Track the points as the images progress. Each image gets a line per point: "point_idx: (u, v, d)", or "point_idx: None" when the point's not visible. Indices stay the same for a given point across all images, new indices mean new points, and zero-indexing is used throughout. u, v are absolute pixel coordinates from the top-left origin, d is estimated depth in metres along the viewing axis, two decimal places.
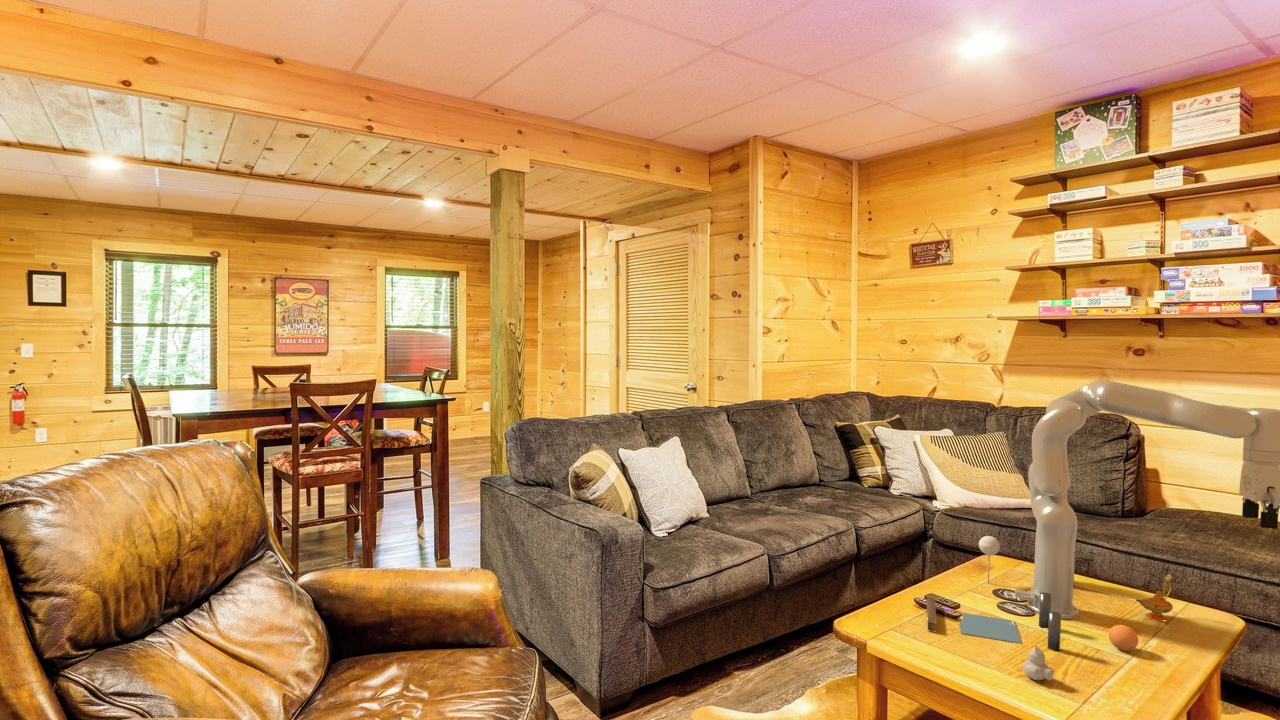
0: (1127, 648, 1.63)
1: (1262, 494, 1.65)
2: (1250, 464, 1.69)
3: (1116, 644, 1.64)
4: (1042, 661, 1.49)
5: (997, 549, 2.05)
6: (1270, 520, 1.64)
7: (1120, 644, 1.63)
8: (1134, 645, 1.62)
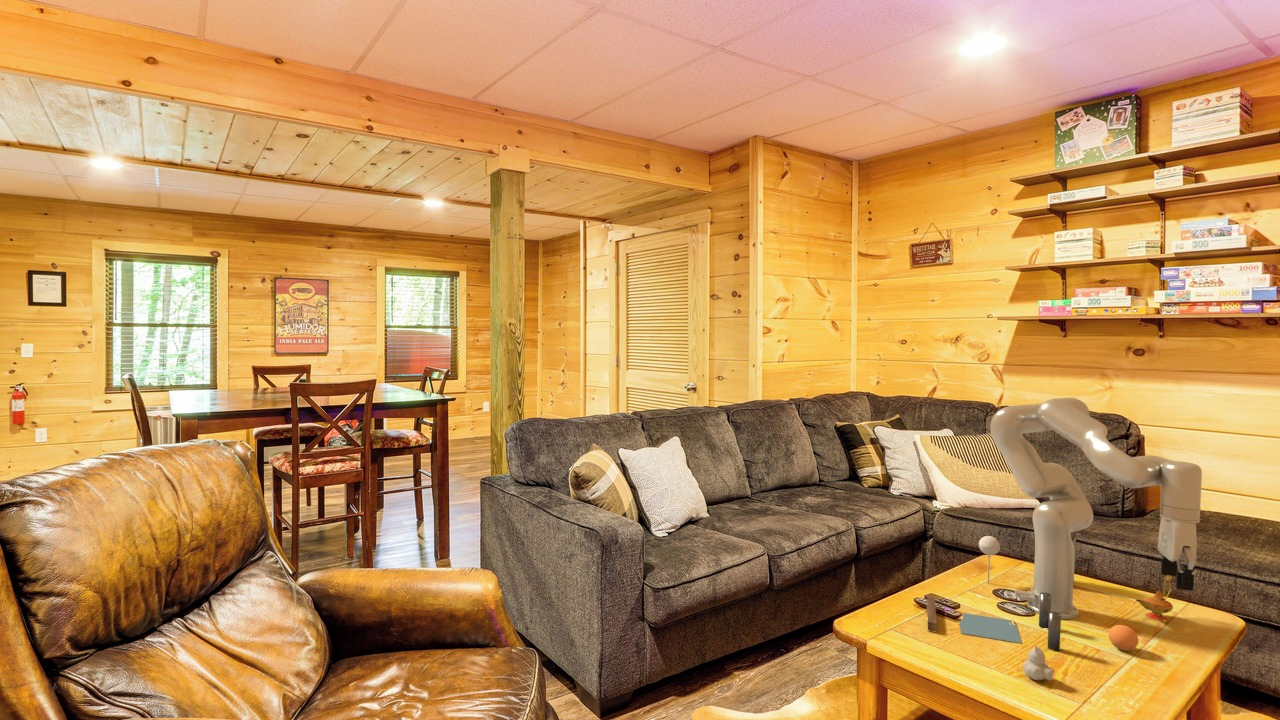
0: (1127, 648, 1.63)
1: (1178, 554, 1.56)
2: (1167, 521, 1.60)
3: (1116, 644, 1.64)
4: (1042, 661, 1.49)
5: (997, 549, 2.05)
6: (1186, 581, 1.56)
7: (1120, 644, 1.63)
8: (1134, 645, 1.62)
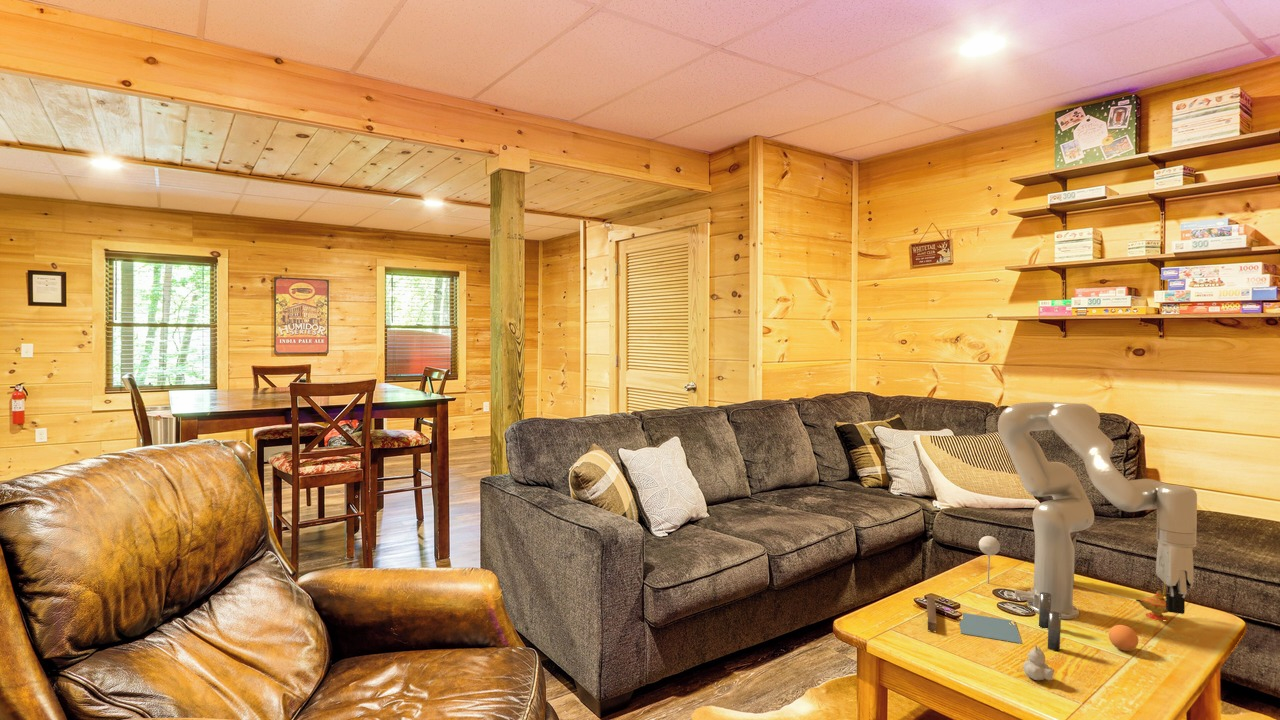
0: (1127, 648, 1.63)
1: (1175, 578, 1.56)
2: (1164, 545, 1.60)
3: (1116, 644, 1.64)
4: (1042, 661, 1.49)
5: (997, 549, 2.05)
6: (1176, 605, 1.59)
7: (1120, 644, 1.63)
8: (1134, 645, 1.62)
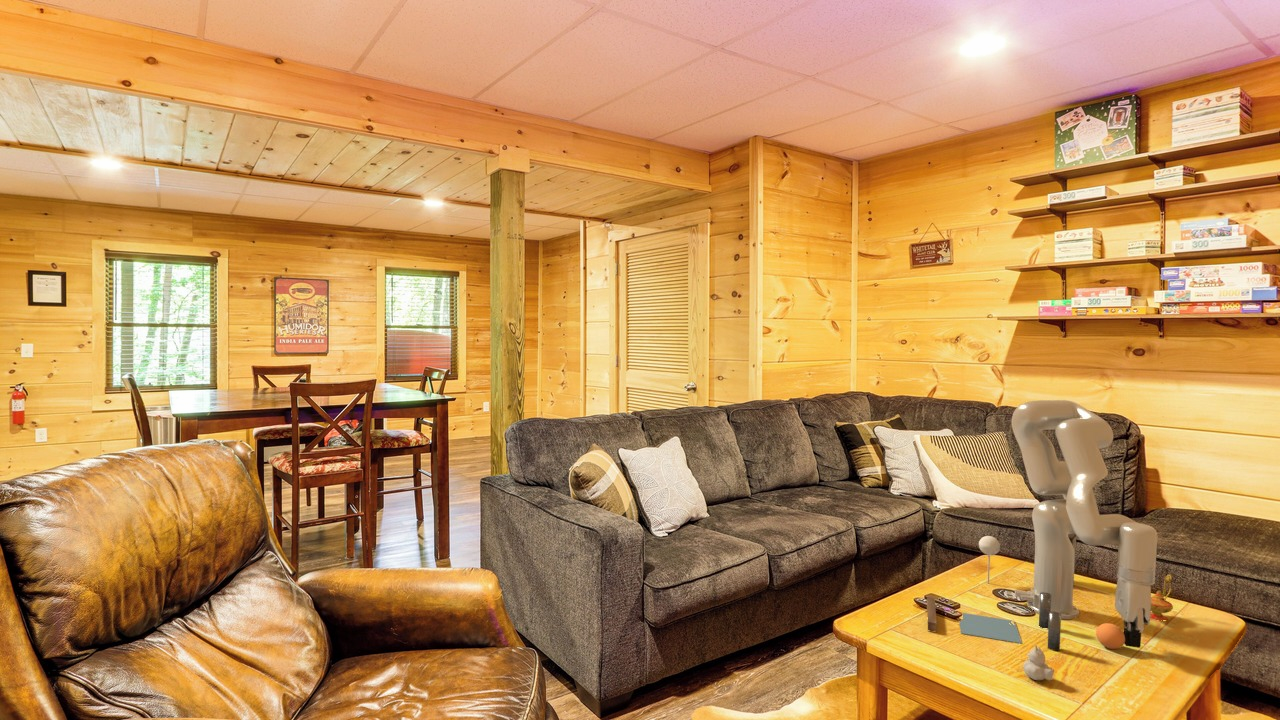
0: (1118, 645, 1.63)
1: (1133, 615, 1.60)
2: (1123, 581, 1.64)
3: (1109, 647, 1.65)
4: (1042, 661, 1.49)
5: (997, 549, 2.05)
6: (1133, 639, 1.63)
7: (1111, 646, 1.64)
8: (1121, 639, 1.63)
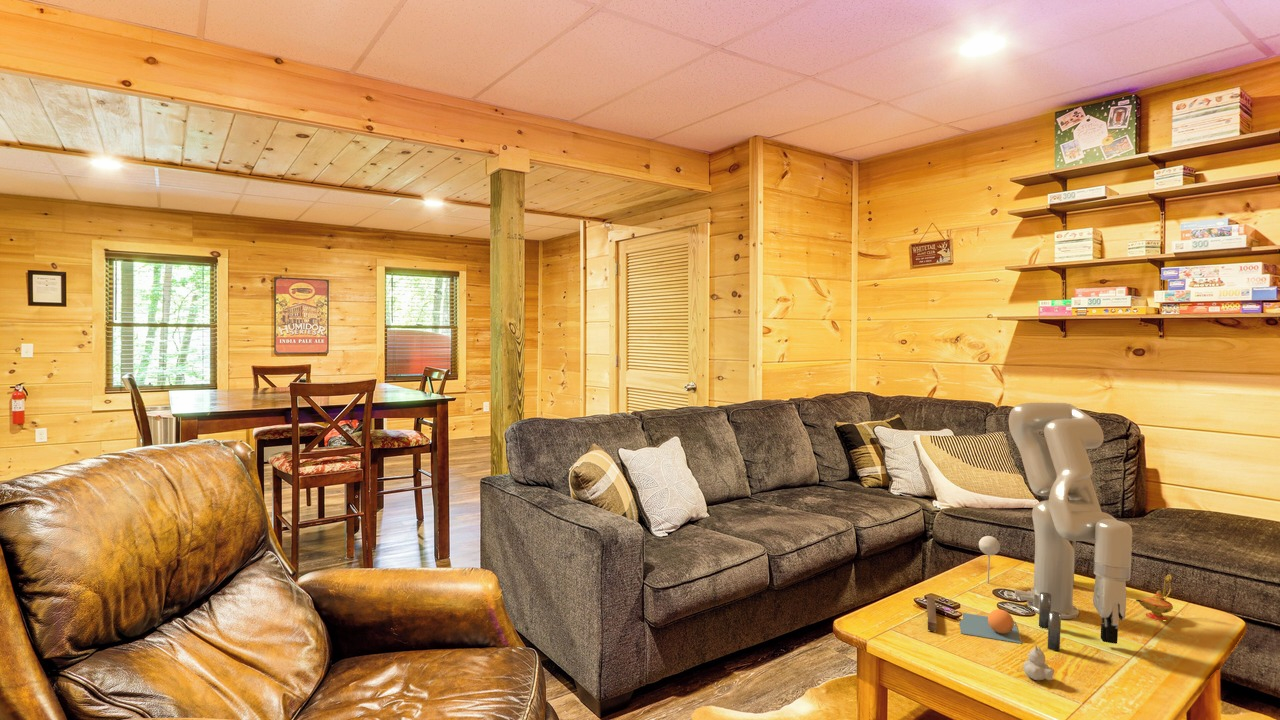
0: (1006, 621, 1.71)
1: (1108, 610, 1.62)
2: (1100, 577, 1.66)
3: (1012, 625, 1.71)
4: (1042, 661, 1.49)
5: (997, 549, 2.05)
6: (1110, 635, 1.65)
7: (1010, 626, 1.71)
8: (998, 620, 1.72)
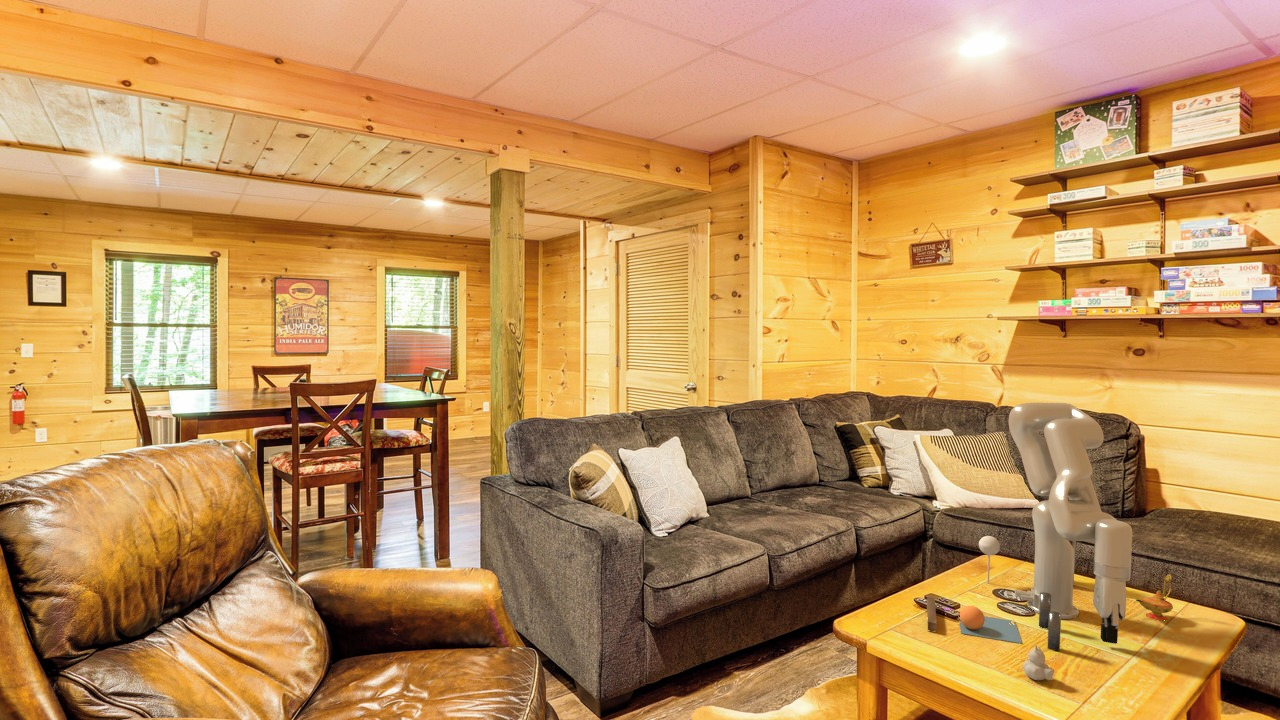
0: (967, 622, 1.74)
1: (1108, 610, 1.62)
2: (1100, 577, 1.66)
3: (966, 613, 1.75)
4: (1042, 661, 1.49)
5: (997, 549, 2.05)
6: (1110, 635, 1.65)
7: (968, 616, 1.74)
8: (972, 627, 1.74)
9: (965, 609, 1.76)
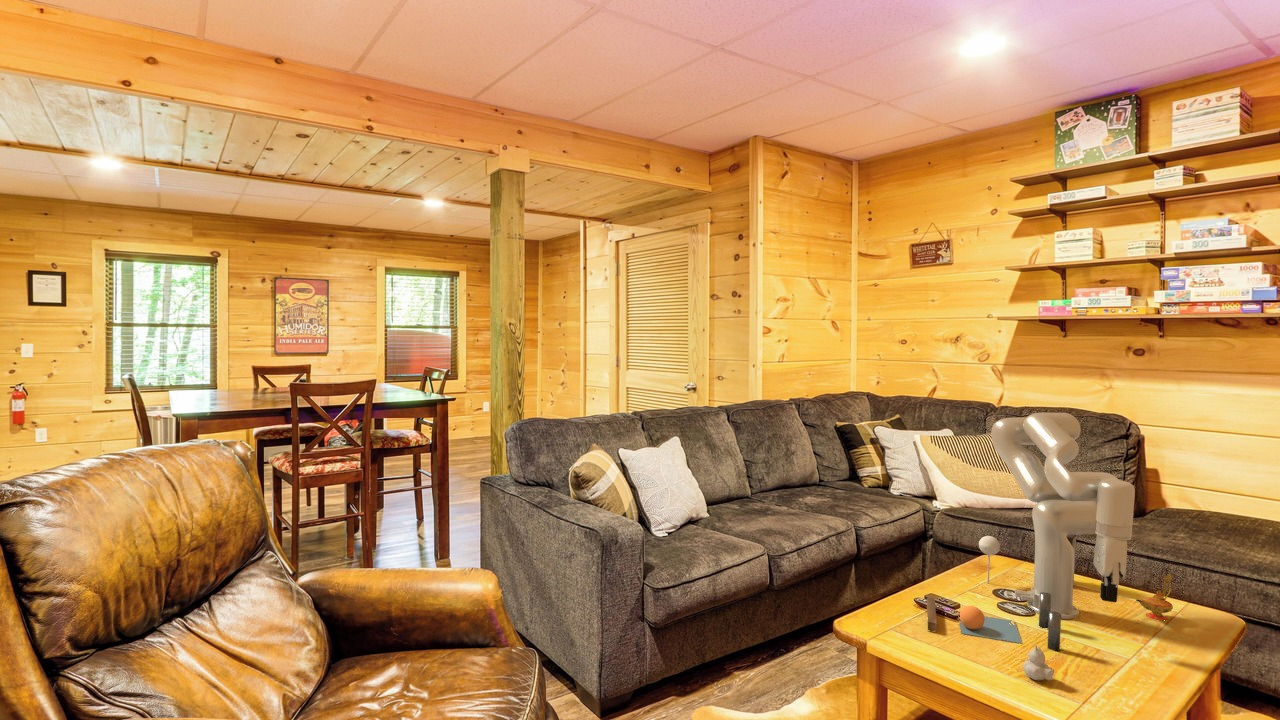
0: (967, 622, 1.74)
1: (1108, 569, 1.62)
2: (1101, 537, 1.65)
3: (966, 613, 1.75)
4: (1042, 661, 1.49)
5: (997, 549, 2.05)
6: (1110, 594, 1.65)
7: (968, 616, 1.74)
8: (972, 627, 1.74)
9: (965, 609, 1.76)
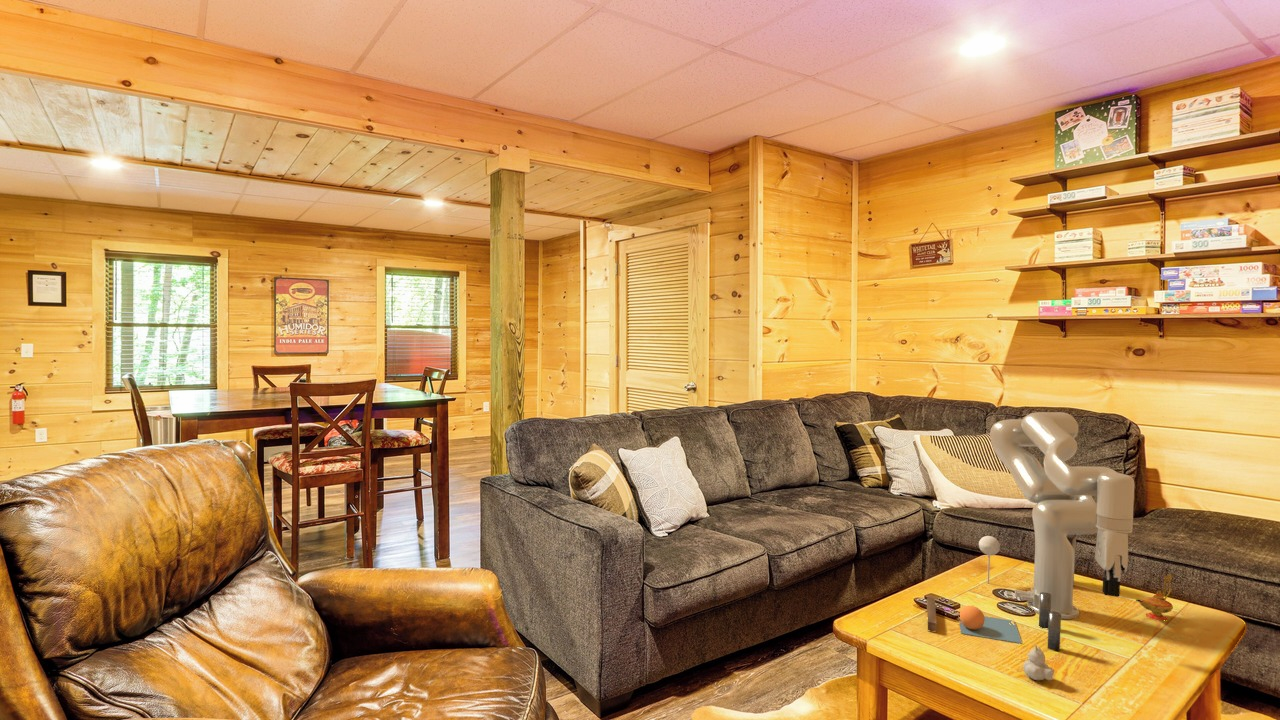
0: (967, 622, 1.74)
1: (1110, 562, 1.61)
2: (1101, 530, 1.65)
3: (966, 613, 1.75)
4: (1042, 661, 1.49)
5: (997, 549, 2.05)
6: (1112, 588, 1.64)
7: (968, 616, 1.74)
8: (972, 627, 1.74)
9: (965, 609, 1.76)
